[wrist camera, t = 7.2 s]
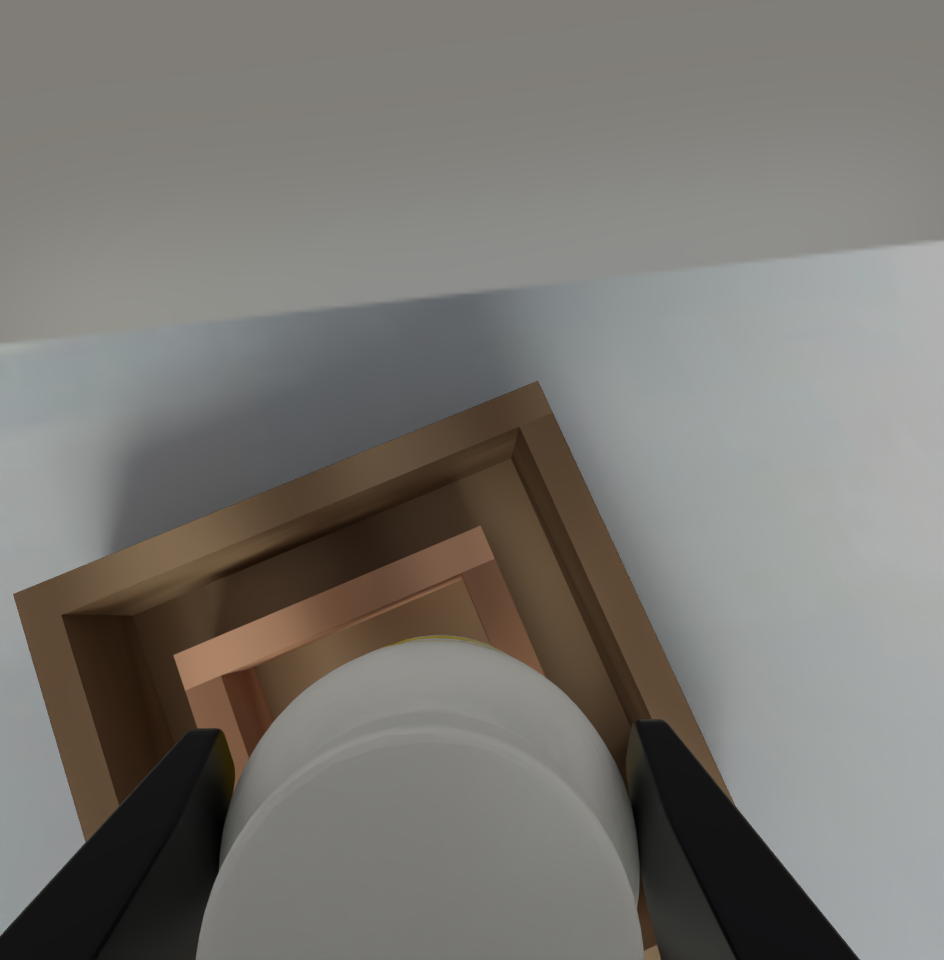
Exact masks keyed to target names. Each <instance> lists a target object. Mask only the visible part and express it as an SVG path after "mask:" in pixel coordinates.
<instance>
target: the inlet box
mask: <svg viewBox="0 0 944 960" xmlns="http://www.w3.org/2000/svg"><path fill="white" fill-rule="evenodd" d="M13 595H14V599H15V602H16V606H17V609H18V612H19V616H20V619H21V623H22V626H23V630H24V633H25V636H26V640H27V643H28V647H29V650H30V653H31V657H32V660H33V664H34V667H35V671H36V674H37V677H38V681H39V684H40V688H41V691H42V694H43V698H44V701H45V705H46V708H47V712H48V715H49V718H50V722H51V725H52V729H53V732H54V736H55V739H56V742H57V746H58V749H59V753H60V756H61V759H62V763H63V766H64V770H65V773H66V777H67V780H68V783H69V787H70V790H71V794H72V797H73V800H74V804H75V807H76V811H77V814H78V818H79V821H80V824H81V828H82V831H83V835H84V838H85V842H87V841H88V839H89V838H90V837H91V836H92V835H93V834H94V833H95V832H96V831H97V830H98V828H99V827H100V826H101V825H102V824H103V823H104V822H105V821H106V820H107V819H108V818H109V816H110V815H111V814H112V813H113V812H114V811H115V810H116V809H117V808H118V807H119V806H120V804H121V803H122V802H123V801H124V800H125V799H126V798H127V797H128V796H129V795H130V793H131V792H132V791H133V790H134V789H135V788H136V787H137V786H138V785H139V784H140V783H141V781H142V780H143V779H144V778H145V777H146V776H147V775H148V774H149V773H150V772H151V770H152V769H153V768H154V767H155V766H156V765H157V764H158V763H159V762H160V761H161V760H162V758H163V757H164V756H165V755H166V754H167V753H168V752H169V751H170V750H171V749H172V747H173V746H174V745H175V744H176V743H177V742H178V741H179V740H180V739H181V738H182V737H183V735H184V734H186V733H187V732H188V731H190V730H192V729H196V728H219V729H221V730H222V731H223V732H224V734H225V737H226V740H227V743H228V746H229V749H230V753H231V756H232V759H233V762H234V766H235V784H234V790H235V788H236V785H237V782H238V780H239V778H240V776H241V774H242V772H243V769H244V767H245V765H246V763H247V761H248V759H249V758H250V756H251V754H252V752H253V751H254V749H255V747H256V746H257V744H258V742H259V741H260V740H261V738H262V737H263V735H264V734H265V733H266V731H267V730H268V728H269V727H270V726H271V724H272V723H273V722H274V721H275V719H276V718H277V717H278V716H279V715H280V714H281V713H282V712H283V711H284V710H285V709H286V708H287V707H288V706H289V705H290V703H291V702H292V701H293V700H294V699H296V698H297V697H298V696H299V695H300V694H301V693H302V692H303V691H305V690H306V689H307V688H309V687H310V686H311V685H312V684H314V683H315V682H316V681H318V680H319V679H321V678H322V677H324V676H325V675H327V674H328V673H330V672H331V671H333V670H335V669H337V668H338V667H340V666H342V665H344V664H346V663H348V662H350V661H352V660H354V659H356V658H359V657H361V656H363V655H365V654H368V653H370V652H372V651H375V650H377V649H380V648H382V647H385V646H388V645H392V644H395V643H398V642H401V641H403V640H406V639H410V638H415V637H420V636H428V635H453V636H461V637H467V638H470V639H474V640H478V641H481V642H484V643H487V644H489V645H491V646H493V647H495V648H497V649H499V650H501V651H502V652H504V653H506V654H508V655H510V656H511V657H513V658H515V659H517V660H519V661H521V662H523V663H525V664H526V665H528V666H529V667H531V668H533V669H534V670H536V671H537V672H539V673H540V674H542V675H543V676H544V677H546V678H547V679H548V680H550V681H551V682H552V683H553V684H555V685H556V686H557V687H559V688H560V689H561V690H562V691H563V692H564V693H565V694H566V695H567V696H568V697H569V698H570V699H571V700H572V701H573V702H574V703H575V704H576V705H577V706H578V708H579V709H580V710H581V711H582V712H583V714H584V715H585V716H586V717H587V719H588V720H589V721H590V723H591V724H592V725H593V727H594V728H595V729H596V731H597V733H598V734H599V736H600V737H601V739H602V740H603V742H604V743H605V745H606V746H607V748H608V750H609V752H610V754H611V755H612V757H613V759H614V761H615V763H616V765H617V767H618V769H619V772H620V774H621V776H622V779H623V781H624V784H625V787H626V790H627V793H628V796H629V799H630V794H629V787H628V780H627V773H626V756H627V750H628V744H629V739H630V733H631V727H632V724H633V722H634V721H635V720H638V719H662V720H664V721H666V722H667V723H668V724H669V725H670V726H671V728H672V729H673V730H674V731H675V732H676V734H677V735H678V736H679V737H680V739H681V740H682V741H683V742H684V744H685V745H686V746H687V747H688V748H689V750H690V751H691V752H692V753H693V755H694V756H695V757H696V758H697V760H698V761H699V762H700V763H701V765H702V766H703V767H704V768H705V769H706V771H707V772H708V773H709V774H710V776H711V777H712V778H713V779H714V781H715V782H716V783H717V784H718V785H719V787H720V788H721V789H722V790H723V792H724V793H725V794H726V795H727V797H728V798H729V799H730V800H731V801H732V803H733V804H734V802H733V800H732V798H731V796H730V793H729V791H728V789H727V787H726V785H725V783H724V781H723V778H722V776H721V774H720V772H719V770H718V768H717V765H716V763H715V761H714V759H713V757H712V755H711V753H710V750H709V748H708V746H707V744H706V742H705V740H704V737H703V735H702V733H701V731H700V729H699V727H698V725H697V722H696V720H695V718H694V716H693V714H692V712H691V709H690V707H689V705H688V703H687V701H686V699H685V697H684V694H683V692H682V690H681V688H680V686H679V684H678V681H677V679H676V677H675V675H674V673H673V671H672V669H671V666H670V664H669V662H668V660H667V658H666V656H665V654H664V651H663V649H662V647H661V645H660V643H659V641H658V638H657V636H656V634H655V632H654V630H653V628H652V626H651V623H650V621H649V619H648V617H647V615H646V613H645V610H644V608H643V606H642V604H641V602H640V600H639V598H638V595H637V593H636V591H635V589H634V587H633V585H632V582H631V580H630V578H629V576H628V574H627V572H626V570H625V567H624V565H623V563H622V561H621V559H620V557H619V554H618V552H617V550H616V548H615V546H614V544H613V542H612V539H611V537H610V535H609V533H608V531H607V529H606V526H605V524H604V522H603V520H602V518H601V516H600V514H599V511H598V509H597V507H596V505H595V503H594V501H593V498H592V496H591V494H590V492H589V490H588V488H587V486H586V483H585V481H584V479H583V477H582V475H581V473H580V471H579V468H578V466H577V464H576V462H575V460H574V458H573V455H572V453H571V451H570V449H569V447H568V445H567V443H566V440H565V438H564V436H563V434H562V432H561V430H560V427H559V425H558V423H557V421H556V419H555V417H554V415H553V412H552V410H551V408H550V406H549V404H548V402H547V399H546V397H545V395H544V393H543V391H542V389H541V387H540V384H539V382H538V381H536V382H534V383H532V384H529V385H527V386H524V387H522V388H519V389H517V390H514V391H512V392H509V393H507V394H504V395H502V396H500V397H497V398H495V399H492V400H490V401H487V402H485V403H482V404H480V405H477V406H475V407H472V408H470V409H468V410H465V411H463V412H460V413H458V414H455V415H453V416H450V417H448V418H445V419H443V420H440V421H438V422H436V423H433V424H431V425H428V426H426V427H423V428H421V429H418V430H416V431H413V432H411V433H409V434H406V435H404V436H401V437H399V438H396V439H394V440H391V441H389V442H386V443H384V444H381V445H379V446H377V447H374V448H372V449H369V450H367V451H364V452H362V453H359V454H357V455H354V456H352V457H349V458H347V459H345V460H342V461H340V462H337V463H335V464H332V465H330V466H327V467H325V468H322V469H320V470H317V471H315V472H313V473H310V474H308V475H305V476H303V477H300V478H298V479H295V480H293V481H290V482H288V483H286V484H283V485H281V486H278V487H276V488H273V489H271V490H268V491H266V492H263V493H261V494H258V495H256V496H254V497H251V498H249V499H246V500H244V501H241V502H239V503H236V504H234V505H231V506H229V507H226V508H224V509H222V510H219V511H217V512H214V513H212V514H209V515H207V516H204V517H202V518H199V519H197V520H194V521H192V522H190V523H187V524H185V525H182V526H180V527H177V528H175V529H172V530H170V531H167V532H165V533H163V534H160V535H158V536H155V537H153V538H150V539H148V540H145V541H143V542H140V543H138V544H135V545H133V546H131V547H128V548H126V549H123V550H121V551H118V552H116V553H113V554H111V555H108V556H106V557H103V558H101V559H99V560H96V561H94V562H91V563H89V564H86V565H84V566H81V567H79V568H76V569H74V570H71V571H69V572H67V573H64V574H62V575H59V576H57V577H54V578H52V579H49V580H47V581H44V582H42V583H40V584H37V585H35V586H32V587H30V588H27V589H25V590H22V591H20V592H17V593H15V594H13ZM234 790H233V793H234ZM630 802H631V801H630ZM734 805H735V804H734ZM637 913H638V918H639V922H640V927H641V933H642V941H643V949H644V960H661V958H660V954H659V950H658V946H657V942H656V938H655V934H654V931H653V927H652V923H651V919H650V915H649V911H648V906H647V902H646V898H645V893H644V887H643V882H642V876H641V869H640V878H639V897H638V904H637Z"/></svg>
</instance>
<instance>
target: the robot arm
mask: <svg viewBox="0 0 944 960" xmlns="http://www.w3.org/2000/svg"><path fill="white" fill-rule="evenodd" d="M626 773H627V780H628V787H629V794H630V801H631V806H632V811H633V815H634V819H635V824H636V829H637V838H638V848H639V860H640V869H641V876H642V882H643V887H644V893H645V898H646V902H647V906H648V911H649V915H650V919H651V923H652V927H653V931H654V934H655V938H656V942H657V946H658V950H659V954H660V958H661V960H860V959H859V958H858V957H857V956H856V954H855V953H854V952H853V951H852V949H851V948H850V947H849V946H848V944H847V943H846V942H845V941H844V940H843V938H842V937H841V936H840V935H839V933H838V932H837V931H836V930H835V928H834V927H833V926H832V925H831V924H830V922H829V921H828V920H827V919H826V917H825V916H824V915H823V914H822V912H821V911H820V910H819V909H818V907H817V906H816V905H815V904H814V903H813V901H812V900H811V899H810V898H809V896H808V895H807V894H806V893H805V891H804V890H803V889H802V888H801V887H800V885H799V884H798V883H797V882H796V880H795V879H794V878H793V877H792V875H791V874H790V873H789V872H788V871H787V869H786V868H785V867H784V866H783V864H782V863H781V862H780V861H779V859H778V858H777V857H776V856H775V854H774V853H773V852H772V851H771V850H770V848H769V847H768V846H767V845H766V843H765V842H764V841H763V840H762V838H761V837H760V836H759V835H758V834H757V832H756V831H755V830H754V829H753V827H752V826H751V825H750V824H749V822H748V821H747V820H746V819H745V818H744V816H743V815H742V814H741V813H740V811H739V810H738V809H737V808H736V806H735V805H734V804H733V803H732V801H731V800H730V799H729V798H728V797H727V795H726V794H725V793H724V792H723V790H722V789H721V788H720V787H719V785H718V784H717V783H716V782H715V781H714V779H713V778H712V777H711V776H710V774H709V773H708V772H707V771H706V769H705V768H704V767H703V766H702V765H701V763H700V762H699V761H698V760H697V758H696V757H695V756H694V755H693V753H692V752H691V751H690V750H689V748H688V747H687V746H686V745H685V744H684V742H683V741H682V740H681V739H680V737H679V736H678V735H677V734H676V732H675V731H674V730H673V729H672V728H671V726H670V725H669V724H668V723H667V722H666V721H664V720H662V719H638V720H635V721H634V722H633V724H632V727H631V733H630V739H629V744H628V750H627V756H626ZM234 784H235V766H234V762H233V759H232V756H231V753H230V749H229V746H228V743H227V740H226V737H225V734H224V732H223V731H222V730H221V729H219V728H196V729H192V730H190V731H188V732H187V733H186V734H184V735H183V737H182V738H181V739H180V740H179V741H178V742H177V743H176V744H175V745H174V746H173V747H172V749H171V750H170V751H169V752H168V753H167V754H166V755H165V756H164V757H163V758H162V760H161V761H160V762H159V763H158V764H157V765H156V766H155V767H154V768H153V769H152V770H151V772H150V773H149V774H148V775H147V776H146V777H145V778H144V779H143V780H142V781H141V783H140V784H139V785H138V786H137V787H136V788H135V789H134V790H133V791H132V792H131V793H130V795H129V796H128V797H127V798H126V799H125V800H124V801H123V802H122V803H121V804H120V806H119V807H118V808H117V809H116V810H115V811H114V812H113V813H112V814H111V815H110V816H109V818H108V819H107V820H106V821H105V822H104V823H103V824H102V825H101V826H100V827H99V828H98V830H97V831H96V832H95V833H94V834H93V835H92V836H91V837H90V838H89V839H88V841H87V842H86V843H85V844H84V845H83V846H82V847H81V848H80V849H79V850H78V851H77V853H76V854H75V855H74V856H73V857H72V858H71V859H70V860H69V861H68V862H67V864H66V865H65V866H64V867H63V868H62V869H61V870H60V871H59V872H58V873H57V874H56V876H55V877H54V878H53V879H52V880H51V881H50V882H49V883H48V884H47V885H46V886H45V888H44V889H43V890H42V891H41V892H40V893H39V894H38V895H37V896H36V897H35V899H34V900H33V901H32V902H31V903H30V904H29V905H28V906H27V907H26V908H25V909H24V911H23V912H22V913H21V914H20V915H19V916H18V917H17V918H16V919H15V920H14V922H13V923H12V924H11V925H10V926H9V927H8V928H7V929H6V930H5V931H4V932H3V934H2V935H1V936H0V960H196V953H197V947H198V941H199V935H200V930H201V926H202V921H203V916H204V912H205V909H206V906H207V903H208V900H209V897H210V894H211V891H212V887H213V885H214V882H215V880H216V878H217V875H218V873H219V856H220V848H221V841H222V834H223V829H224V824H225V819H226V816H227V812H228V809H229V805H230V801H231V799H232V796H233V790H234Z"/></svg>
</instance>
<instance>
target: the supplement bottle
mask: <svg viewBox="0 0 944 960" xmlns="http://www.w3.org/2000/svg"><path fill="white" fill-rule="evenodd" d="M639 878H640V860H639V848H638V838H637V829H636V824H635V819H634V815H633V811H632V806H631V802H630V799H629V796H628V793H627V790H626V787H625V784H624V781H623V779H622V776H621V774H620V772H619V769H618V767H617V765H616V763H615V761H614V759H613V757H612V755H611V754H610V752H609V750H608V748H607V746H606V745H605V743H604V742H603V740H602V739H601V737H600V736H599V734H598V733H597V731H596V729H595V728H594V727H593V725H592V724H591V723H590V721H589V720H588V719H587V717H586V716H585V715H584V714H583V712H582V711H581V710H580V709H579V708H578V706H577V705H576V704H575V703H574V702H573V701H572V700H571V699H570V698H569V697H568V696H567V695H566V694H565V693H564V692H563V691H562V690H561V689H560V688H559V687H557V686H556V685H555V684H553V683H552V682H551V681H550V680H548V679H547V678H546V677H544V676H543V675H542V674H540V673H539V672H537V671H536V670H534V669H533V668H531V667H529V666H528V665H526V664H525V663H523V662H521V661H519V660H517V659H515V658H513V657H511V656H510V655H508V654H506V653H504V652H502V651H501V650H499V649H497V648H495V647H493V646H491V645H489V644H487V643H484V642H481V641H478V640H474V639H470V638H467V637H461V636H453V635H428V636H420V637H415V638H410V639H406V640H403V641H401V642H398V643H395V644H392V645H388V646H385V647H382V648H380V649H377V650H375V651H372V652H370V653H368V654H365V655H363V656H361V657H359V658H356V659H354V660H352V661H350V662H348V663H346V664H344V665H342V666H340V667H338V668H337V669H335V670H333V671H331V672H330V673H328V674H327V675H325V676H324V677H322V678H321V679H319V680H318V681H316V682H315V683H314V684H312V685H311V686H310V687H309V688H307V689H306V690H305V691H303V692H302V693H301V694H300V695H299V696H298V697H297V698H296V699H294V700H293V701H292V702H291V703H290V705H289V706H288V707H287V708H286V709H285V710H284V711H283V712H282V713H281V714H280V715H279V716H278V717H277V718H276V719H275V721H274V722H273V723H272V724H271V726H270V727H269V728H268V730H267V731H266V733H265V734H264V735H263V737H262V738H261V740H260V741H259V742H258V744H257V746H256V747H255V749H254V751H253V752H252V754H251V756H250V758H249V759H248V761H247V763H246V765H245V767H244V769H243V772H242V774H241V776H240V778H239V780H238V782H237V785H236V788H235V790H234V793H233V796H232V799H231V801H230V805H229V809H228V812H227V816H226V819H225V824H224V829H223V834H222V841H221V848H220V856H219V873H218V875H217V878H216V880H215V882H214V885H213V887H212V891H211V894H210V897H209V900H208V903H207V906H206V909H205V912H204V916H203V921H202V926H201V930H200V935H199V941H198V947H197V953H196V960H644V949H643V941H642V933H641V927H640V922H639V918H638V913H637V904H638V897H639Z"/></svg>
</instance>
